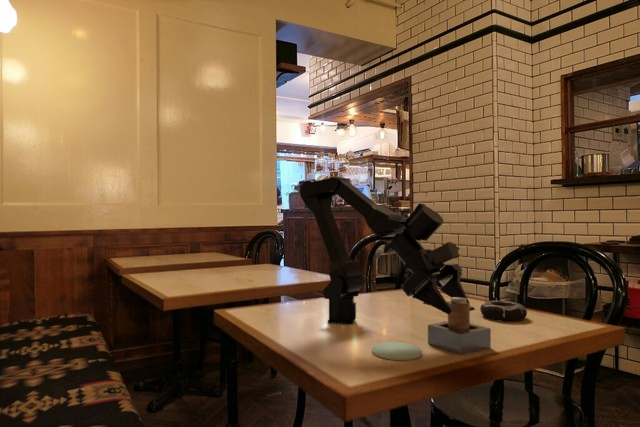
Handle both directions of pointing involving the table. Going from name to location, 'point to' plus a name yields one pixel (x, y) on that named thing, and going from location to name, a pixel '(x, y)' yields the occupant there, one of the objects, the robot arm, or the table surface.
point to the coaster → (396, 351)
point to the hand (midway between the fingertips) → (459, 309)
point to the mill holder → (459, 338)
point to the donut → (503, 311)
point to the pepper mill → (459, 314)
